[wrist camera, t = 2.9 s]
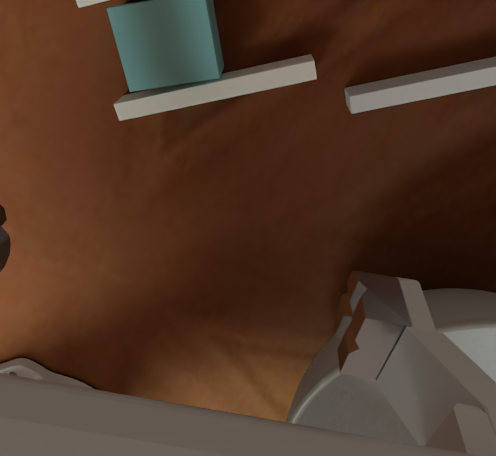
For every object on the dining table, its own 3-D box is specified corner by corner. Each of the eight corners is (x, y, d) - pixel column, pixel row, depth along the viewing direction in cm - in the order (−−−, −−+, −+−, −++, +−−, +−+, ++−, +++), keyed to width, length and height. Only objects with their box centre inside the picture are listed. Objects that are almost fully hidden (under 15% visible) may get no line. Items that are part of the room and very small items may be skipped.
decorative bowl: (597, 369, 46) (694, 488, 36) (361, 459, 55) (384, 576, 44) (495, 166, 36) (590, 250, 25) (224, 316, 44) (211, 425, 34)
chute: (128, 111, 35) (119, 120, 32) (84, -15, 31) (70, -14, 28) (313, 71, 33) (317, 79, 31) (293, -69, 29) (295, -72, 26)
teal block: (144, 78, 34) (129, 91, 30) (124, 3, 31) (106, 8, 28) (224, 66, 33) (219, 78, 30) (211, -12, 31) (204, -9, 27)
